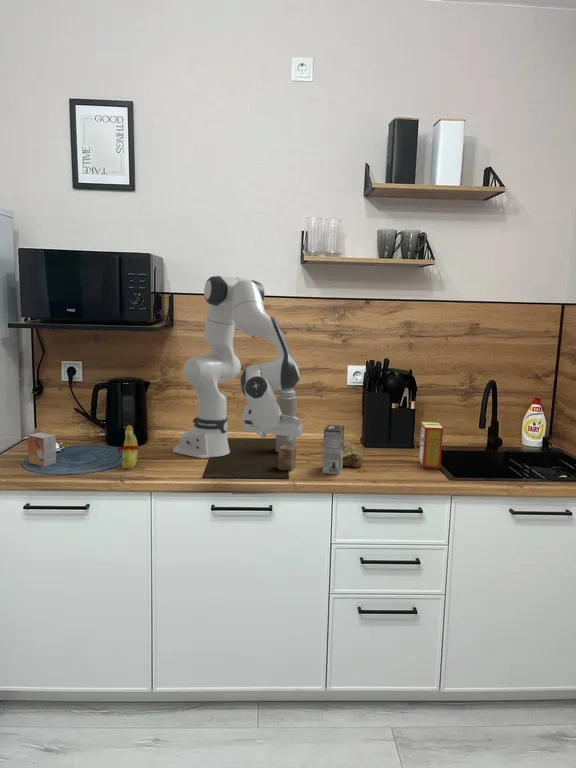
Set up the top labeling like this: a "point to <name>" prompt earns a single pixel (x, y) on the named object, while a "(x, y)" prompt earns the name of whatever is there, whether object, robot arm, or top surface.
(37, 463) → the small box
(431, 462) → the baking soda box
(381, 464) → the top surface
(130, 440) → the chocolate bunny
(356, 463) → the sponge
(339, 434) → the coffee box
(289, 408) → the thermos bottle
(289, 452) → the walnut block
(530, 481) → the top surface
